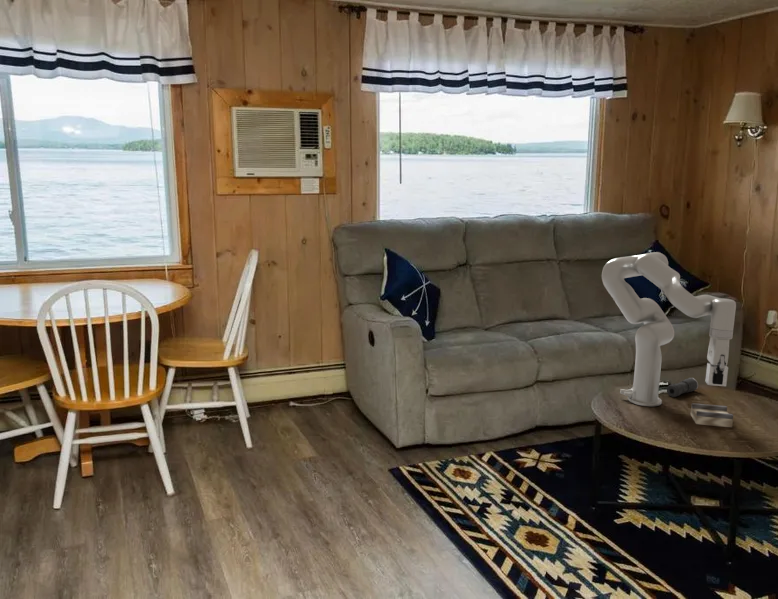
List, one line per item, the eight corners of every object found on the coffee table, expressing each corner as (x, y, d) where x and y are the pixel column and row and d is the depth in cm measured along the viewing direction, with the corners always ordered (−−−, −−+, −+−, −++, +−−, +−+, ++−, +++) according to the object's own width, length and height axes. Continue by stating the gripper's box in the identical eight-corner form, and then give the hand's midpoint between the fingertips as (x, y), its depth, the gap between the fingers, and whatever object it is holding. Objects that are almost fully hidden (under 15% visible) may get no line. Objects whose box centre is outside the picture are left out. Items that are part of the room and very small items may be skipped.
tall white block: (708, 385, 244) (710, 366, 243) (705, 381, 249) (707, 362, 247) (726, 386, 243) (729, 367, 242) (723, 382, 247) (725, 364, 246)
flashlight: (677, 399, 272) (678, 386, 271) (664, 395, 276) (666, 382, 275) (697, 392, 281) (698, 379, 280) (685, 388, 285) (686, 376, 284)
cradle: (696, 424, 245) (697, 412, 244) (690, 414, 255) (691, 403, 254) (732, 427, 243) (733, 415, 242) (724, 417, 252) (726, 405, 252)
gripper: (704, 327, 251) (699, 374, 255) (715, 338, 235) (709, 388, 239) (726, 328, 250) (720, 375, 253) (738, 339, 233) (733, 390, 237)
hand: (715, 381), depth 246 cm, fingers closed on tall white block, 4 cm apart
